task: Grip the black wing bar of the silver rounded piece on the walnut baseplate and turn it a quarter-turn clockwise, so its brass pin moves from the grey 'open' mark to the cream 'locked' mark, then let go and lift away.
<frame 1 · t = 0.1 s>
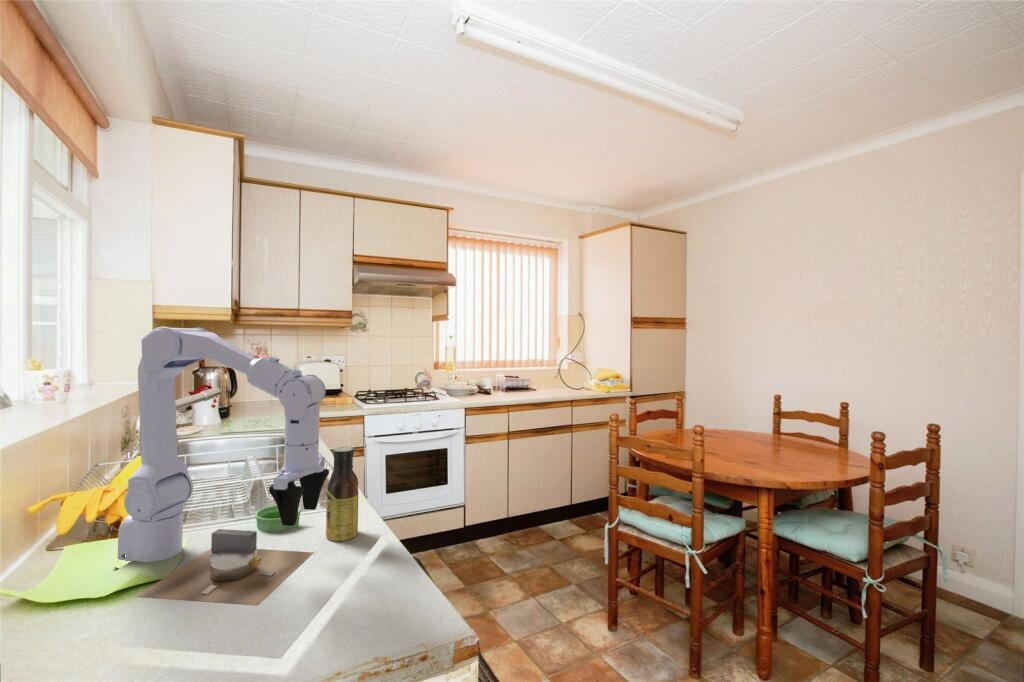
hand: (299, 516, 87), 10 cm above the worktop, tool pointing down, fingers open, 7 cm apart
ramekin: (278, 532, 105), on the worktop
silver rounded piece: (236, 551, 83), point 5 cm above the worktop, hinge at 0.0°
baseplate: (233, 580, 84), on the worktop
sauce bottle: (341, 543, 100), on the worktop
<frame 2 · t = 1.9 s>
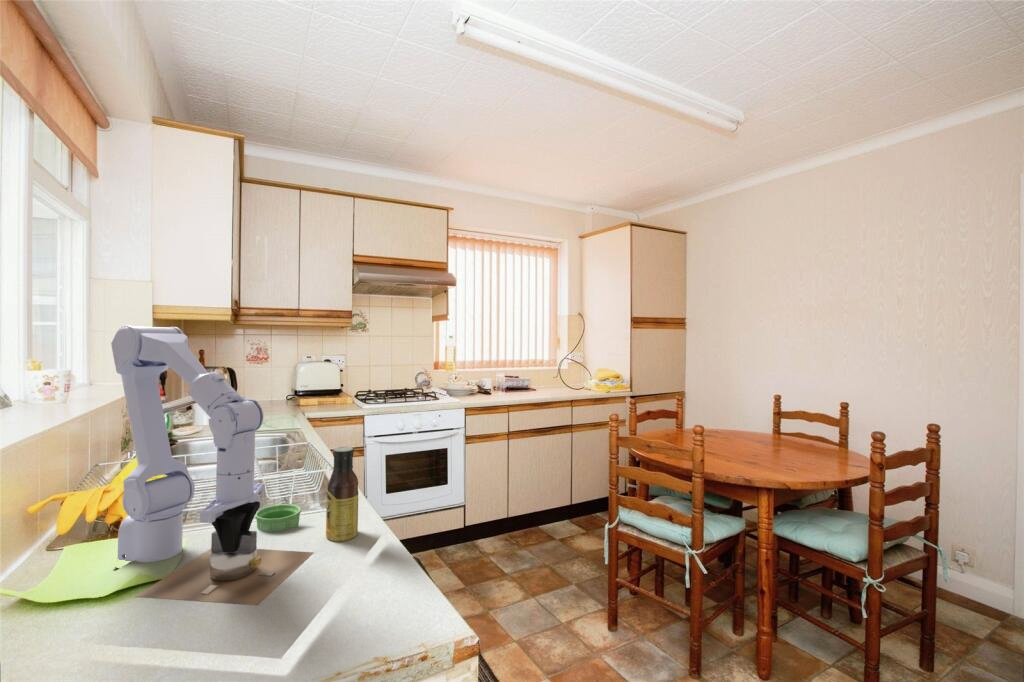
hand: (234, 548, 83), 6 cm above the worktop, tool pointing down, fingers closed on silver rounded piece, 2 cm apart
silver rounded piece: (236, 551, 83), point 5 cm above the worktop, hinge at 0.0°, touching gripper
everything else where it was.
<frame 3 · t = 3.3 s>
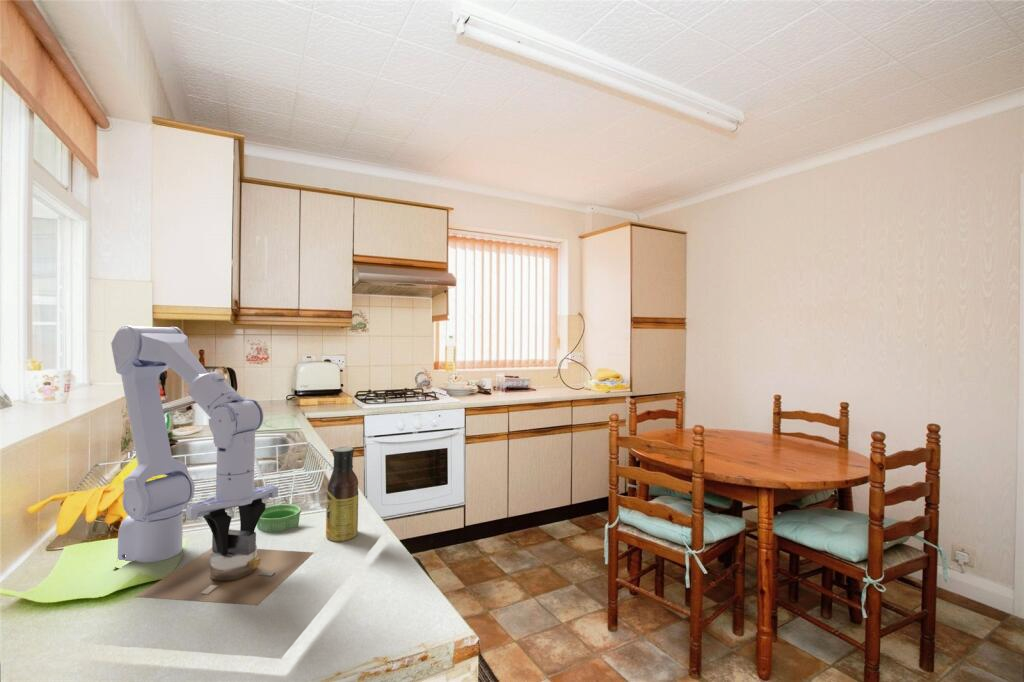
hand: (234, 548, 83), 6 cm above the worktop, tool pointing down, fingers closed on silver rounded piece, 3 cm apart
silver rounded piece: (236, 551, 83), point 5 cm above the worktop, hinge at -5.2°, touching gripper
everything else where it was.
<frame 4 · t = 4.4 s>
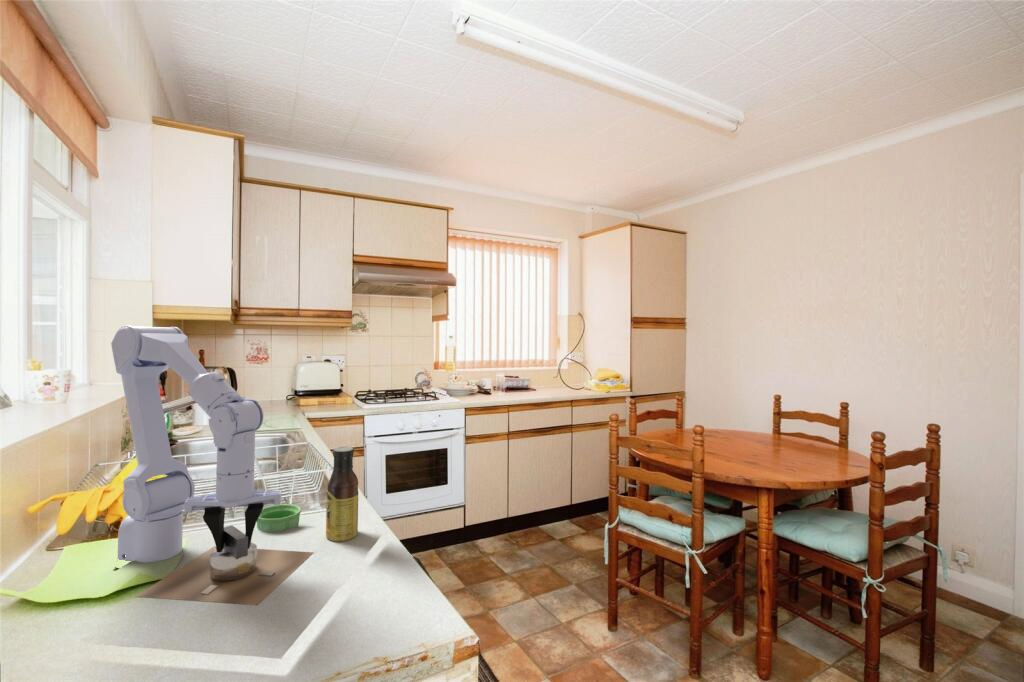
hand: (233, 548, 83), 6 cm above the worktop, tool pointing down, fingers closed on silver rounded piece, 3 cm apart
silver rounded piece: (235, 552, 83), point 5 cm above the worktop, hinge at -35.9°, touching gripper
everything else where it was.
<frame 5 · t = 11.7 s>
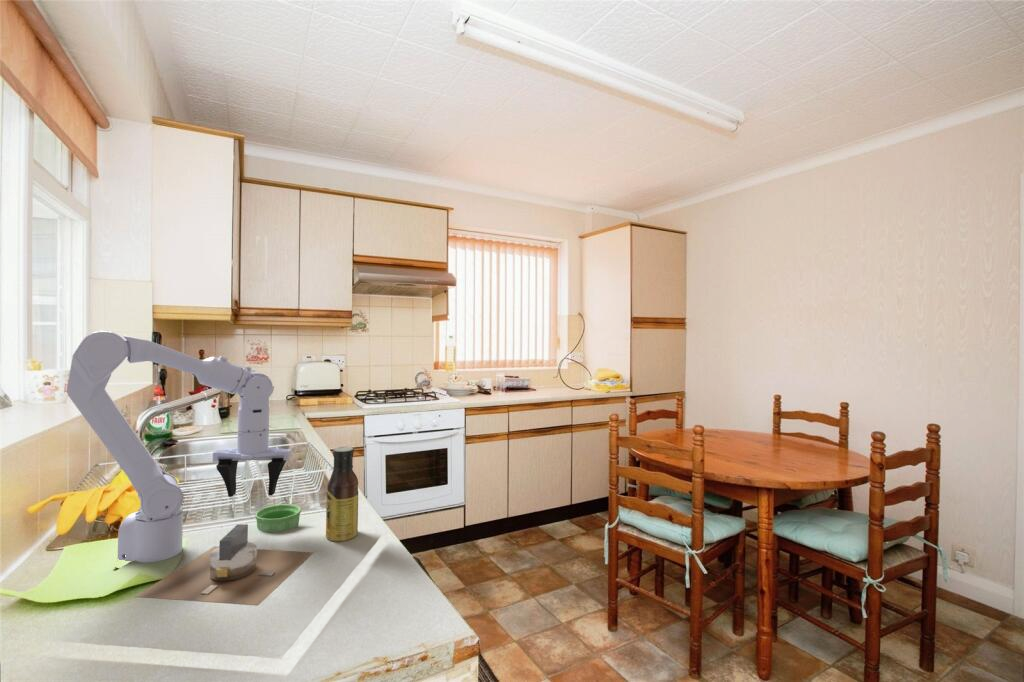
hand: (252, 494, 100), 9 cm above the worktop, tool pointing down, fingers open, 7 cm apart
silver rounded piece: (232, 552, 83), point 5 cm above the worktop, hinge at -77.7°
everything else where it was.
at the end: silver rounded piece at -78° (first picture: +0°); the gripper is holding nothing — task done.
